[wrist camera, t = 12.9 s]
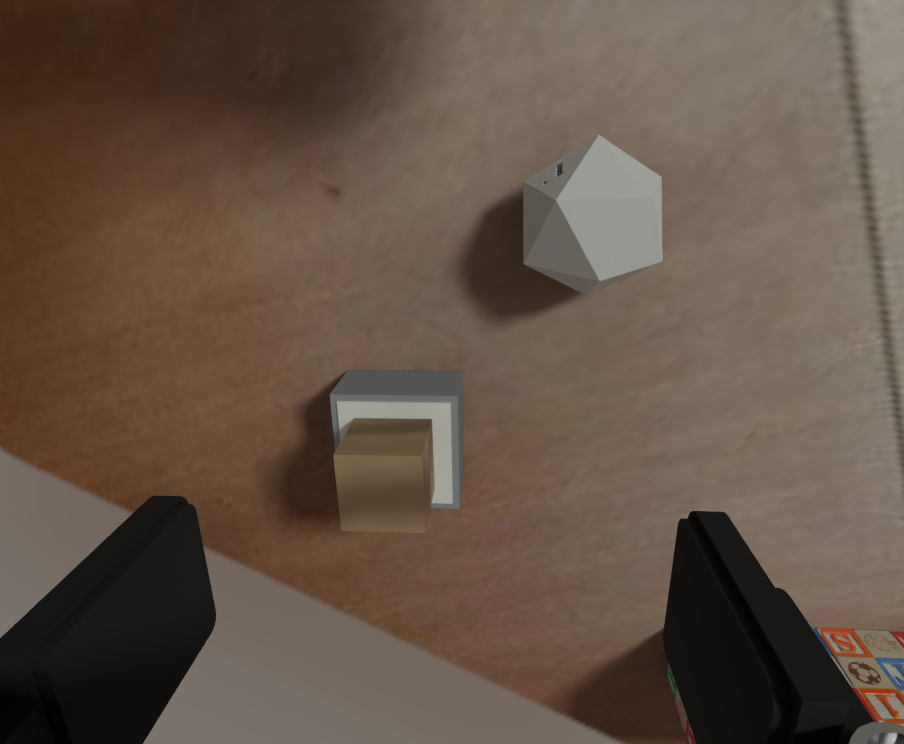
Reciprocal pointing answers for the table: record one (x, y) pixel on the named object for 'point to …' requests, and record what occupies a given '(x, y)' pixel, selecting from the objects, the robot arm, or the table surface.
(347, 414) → the block
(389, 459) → the walnut cube
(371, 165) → the table surface
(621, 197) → the die
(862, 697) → the stack of blocks
